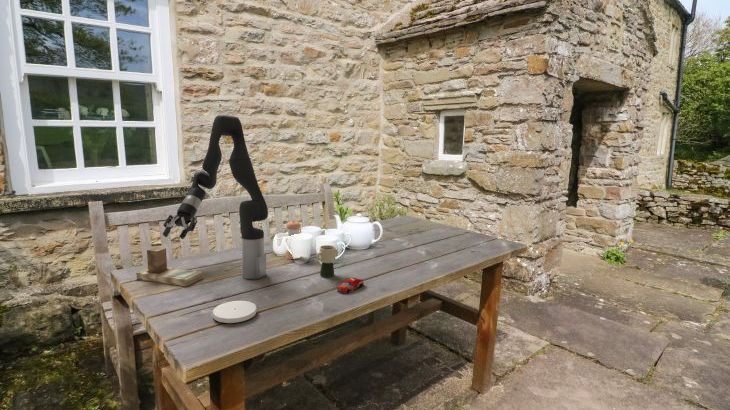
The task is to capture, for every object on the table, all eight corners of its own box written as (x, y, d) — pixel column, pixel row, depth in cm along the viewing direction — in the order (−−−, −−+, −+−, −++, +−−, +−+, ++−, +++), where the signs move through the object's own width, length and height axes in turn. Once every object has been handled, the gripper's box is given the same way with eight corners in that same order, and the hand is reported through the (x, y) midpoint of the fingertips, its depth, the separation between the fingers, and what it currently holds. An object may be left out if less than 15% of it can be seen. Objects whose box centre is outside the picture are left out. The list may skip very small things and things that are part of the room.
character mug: (332, 270, 180) (332, 243, 178) (341, 275, 175) (342, 247, 173) (312, 275, 173) (312, 247, 171) (321, 280, 168) (321, 251, 166)
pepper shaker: (283, 257, 198) (283, 220, 195) (294, 254, 203) (294, 218, 200) (291, 260, 193) (291, 222, 190) (303, 257, 199) (303, 220, 195)
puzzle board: (202, 278, 166) (202, 271, 165) (186, 286, 156) (186, 279, 156) (155, 271, 172) (154, 264, 171) (136, 279, 162) (136, 272, 161)
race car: (344, 295, 153) (344, 286, 153) (334, 292, 157) (334, 282, 156) (365, 286, 163) (366, 277, 163) (356, 283, 167) (356, 274, 166)
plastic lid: (230, 304, 142) (229, 298, 141) (264, 310, 138) (264, 304, 137) (203, 321, 129) (203, 314, 128) (240, 328, 125) (240, 321, 124)
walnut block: (167, 275, 167) (166, 248, 165) (158, 279, 162) (157, 251, 160) (157, 274, 168) (156, 247, 166) (148, 277, 163) (146, 250, 161)
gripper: (172, 201, 180) (154, 231, 171) (198, 203, 176) (182, 234, 167) (180, 210, 186) (164, 239, 177) (206, 213, 182) (191, 243, 173)
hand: (172, 237), depth 172 cm, fingers open, 8 cm apart
